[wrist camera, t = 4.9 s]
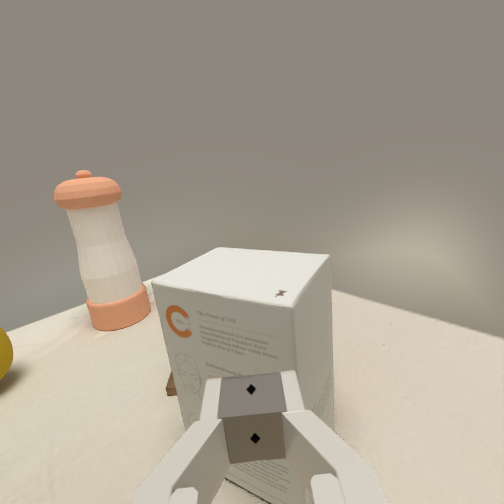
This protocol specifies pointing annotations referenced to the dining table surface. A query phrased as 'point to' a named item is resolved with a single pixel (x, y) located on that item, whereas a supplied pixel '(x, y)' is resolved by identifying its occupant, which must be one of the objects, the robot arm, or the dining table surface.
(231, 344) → the small box
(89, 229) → the pepper shaker
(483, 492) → the dining table surface
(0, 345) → the lemon
